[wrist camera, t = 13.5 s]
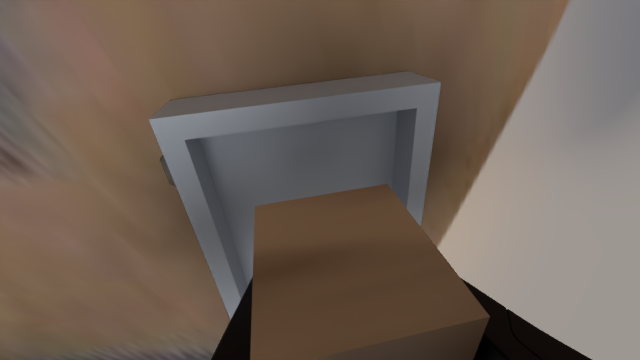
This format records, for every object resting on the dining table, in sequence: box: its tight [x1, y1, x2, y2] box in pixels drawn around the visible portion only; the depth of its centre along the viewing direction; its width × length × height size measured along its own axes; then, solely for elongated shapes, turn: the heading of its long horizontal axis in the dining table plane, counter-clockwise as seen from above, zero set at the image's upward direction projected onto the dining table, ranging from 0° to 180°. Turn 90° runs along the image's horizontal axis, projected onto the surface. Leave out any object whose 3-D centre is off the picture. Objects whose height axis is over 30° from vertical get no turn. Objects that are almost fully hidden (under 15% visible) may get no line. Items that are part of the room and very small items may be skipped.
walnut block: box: [250, 184, 490, 360], centre depth 8 cm, size 4×4×5 cm
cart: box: [149, 71, 441, 319], centre depth 18 cm, size 20×14×3 cm
